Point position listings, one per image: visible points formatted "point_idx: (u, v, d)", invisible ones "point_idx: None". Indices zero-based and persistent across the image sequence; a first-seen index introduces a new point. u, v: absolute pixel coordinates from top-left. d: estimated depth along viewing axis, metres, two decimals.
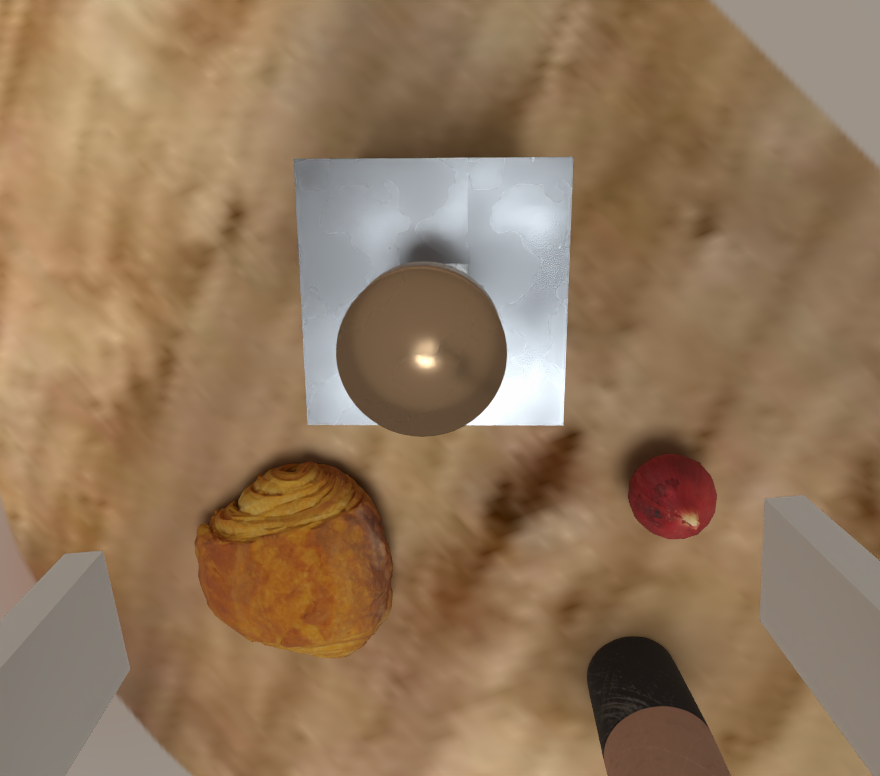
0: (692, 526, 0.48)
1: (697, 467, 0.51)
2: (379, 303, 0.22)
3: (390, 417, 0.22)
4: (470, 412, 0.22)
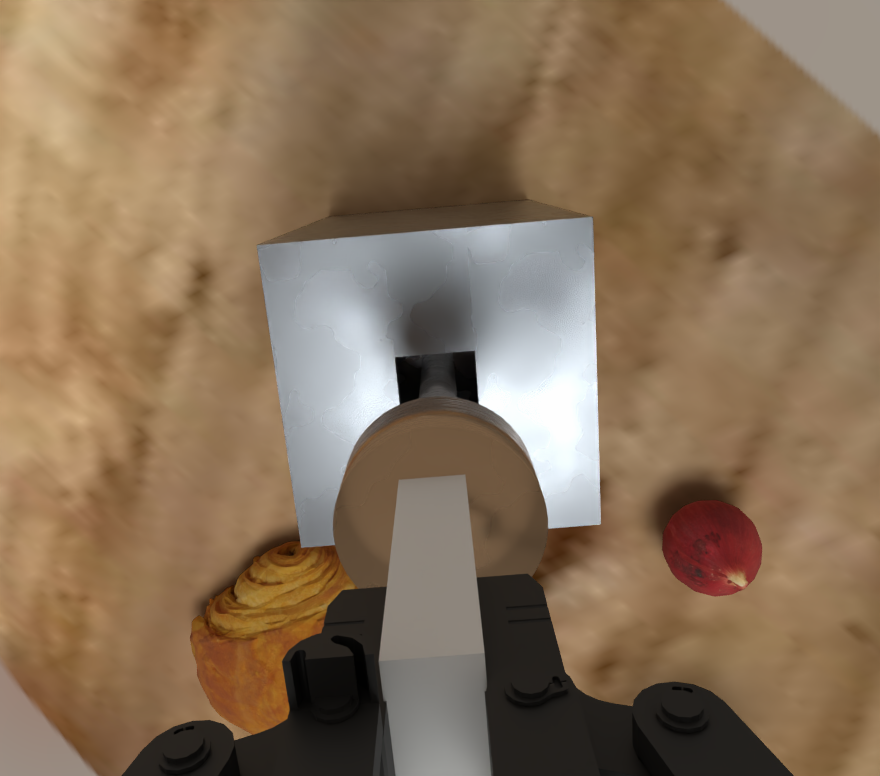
0: (740, 586, 0.43)
1: (738, 516, 0.46)
2: (382, 472, 0.17)
3: None
4: None
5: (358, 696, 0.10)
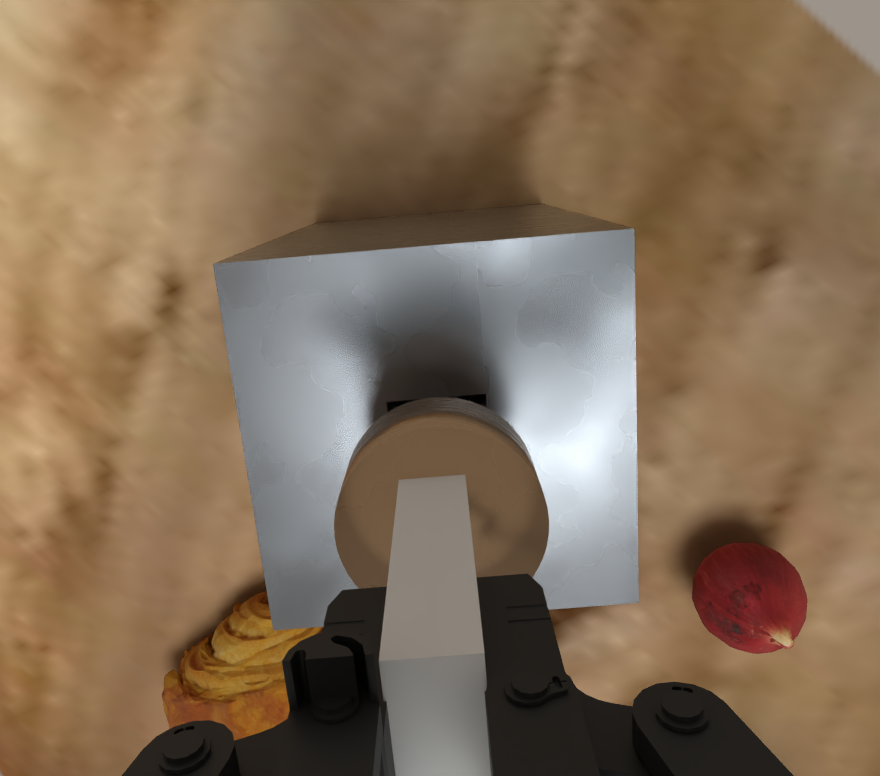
0: (786, 646, 0.38)
1: (780, 563, 0.40)
2: (383, 473, 0.17)
3: None
4: None
5: (358, 696, 0.10)
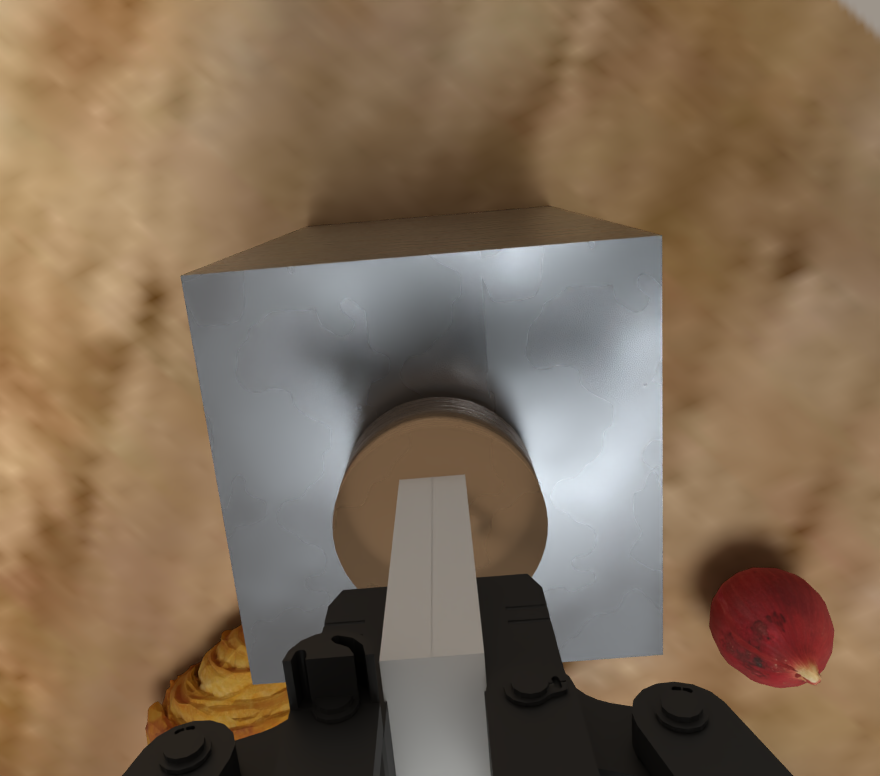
0: (812, 682, 0.35)
1: (804, 590, 0.38)
2: (381, 472, 0.17)
3: None
4: None
5: (358, 696, 0.10)
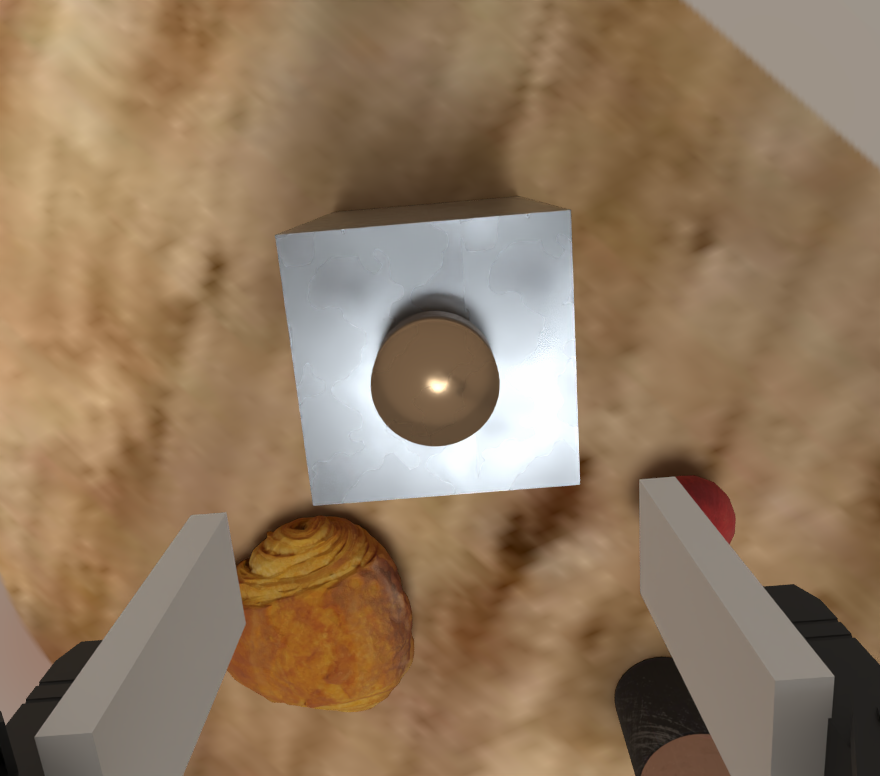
0: None
1: (713, 489, 0.49)
2: (400, 350, 0.29)
3: (415, 433, 0.29)
4: (475, 425, 0.29)
5: None
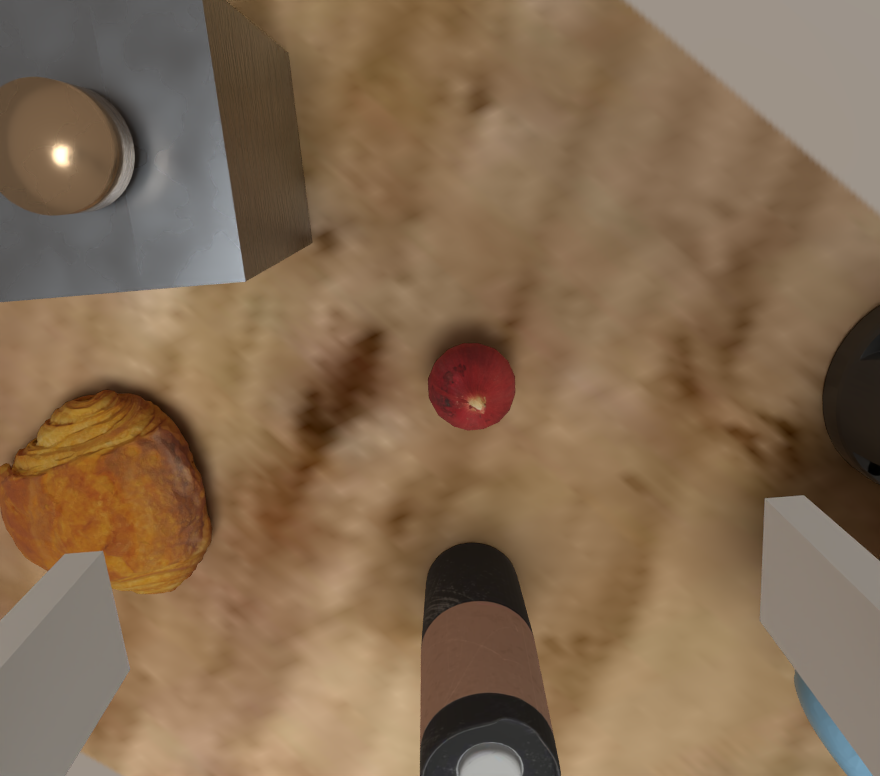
0: (478, 410, 0.46)
1: (489, 352, 0.49)
2: (2, 108, 0.28)
3: (30, 201, 0.29)
4: (91, 192, 0.29)
5: None
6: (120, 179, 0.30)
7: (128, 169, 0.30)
